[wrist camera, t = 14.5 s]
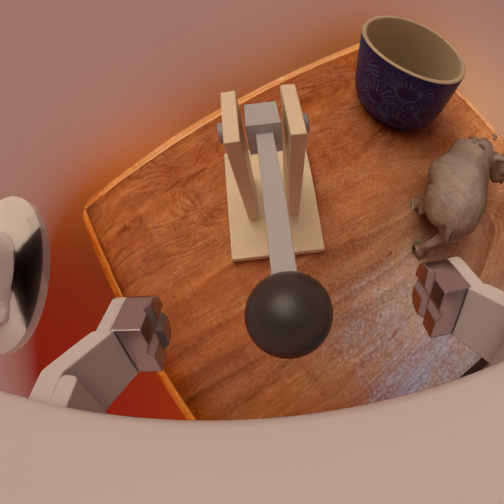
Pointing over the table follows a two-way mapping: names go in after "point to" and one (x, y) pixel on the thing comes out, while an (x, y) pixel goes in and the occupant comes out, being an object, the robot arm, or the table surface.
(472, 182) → the rhinoceros figurine
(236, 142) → the bracket
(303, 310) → the lever
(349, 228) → the table surface
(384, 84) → the planter
